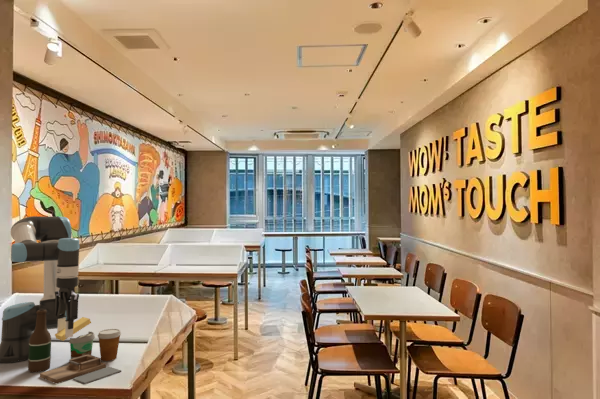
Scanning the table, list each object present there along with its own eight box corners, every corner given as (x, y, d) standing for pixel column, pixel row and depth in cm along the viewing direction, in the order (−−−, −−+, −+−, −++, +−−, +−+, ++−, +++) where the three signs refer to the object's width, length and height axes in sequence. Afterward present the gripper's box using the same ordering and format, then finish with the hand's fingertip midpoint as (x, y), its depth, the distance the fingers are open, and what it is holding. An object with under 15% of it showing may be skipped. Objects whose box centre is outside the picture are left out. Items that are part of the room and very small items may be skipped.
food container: (80, 363, 172) (81, 339, 172) (68, 362, 173) (69, 338, 173) (100, 354, 184) (101, 331, 184) (88, 353, 185) (89, 331, 186)
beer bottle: (29, 367, 166) (32, 309, 167) (51, 365, 169) (54, 307, 171) (25, 374, 159) (28, 312, 160) (48, 371, 162) (50, 311, 163)
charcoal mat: (73, 379, 154) (73, 378, 154) (109, 367, 166) (109, 366, 166) (84, 384, 149) (84, 382, 149) (121, 371, 162) (121, 370, 162)
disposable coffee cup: (104, 364, 171) (105, 335, 171) (92, 359, 176) (93, 332, 176) (125, 357, 179) (125, 330, 180) (112, 353, 184) (113, 327, 185)
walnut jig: (39, 377, 156) (40, 366, 156) (89, 362, 173) (89, 352, 173) (56, 383, 150) (56, 372, 150) (106, 367, 167) (106, 357, 167)
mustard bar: (54, 339, 158) (55, 321, 158) (83, 333, 168) (84, 316, 168) (61, 341, 155) (62, 323, 156) (90, 335, 165) (91, 318, 166)
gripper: (45, 276, 162) (43, 334, 160) (70, 280, 152) (67, 342, 151) (64, 274, 168) (62, 330, 167) (89, 277, 159) (87, 337, 157)
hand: (65, 335), depth 159 cm, fingers closed on mustard bar, 5 cm apart
